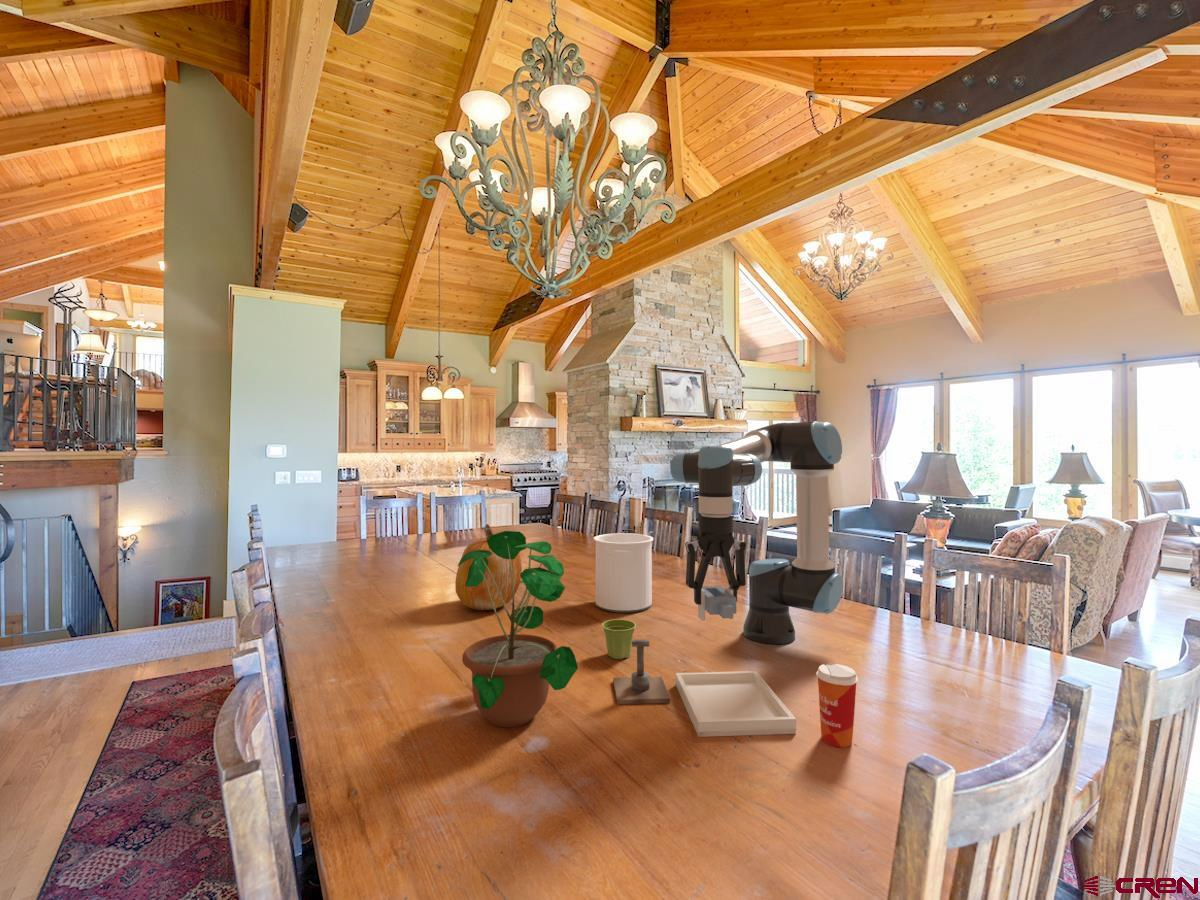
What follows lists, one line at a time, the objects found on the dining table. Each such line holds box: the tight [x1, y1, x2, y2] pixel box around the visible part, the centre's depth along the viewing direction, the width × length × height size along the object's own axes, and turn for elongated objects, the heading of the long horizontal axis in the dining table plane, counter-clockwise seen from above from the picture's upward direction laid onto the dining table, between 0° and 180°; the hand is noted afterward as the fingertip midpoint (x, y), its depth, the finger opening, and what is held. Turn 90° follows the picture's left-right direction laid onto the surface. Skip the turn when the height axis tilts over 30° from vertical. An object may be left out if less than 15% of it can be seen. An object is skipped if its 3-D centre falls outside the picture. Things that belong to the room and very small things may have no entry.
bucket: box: [593, 532, 654, 614], centre depth 205 cm, size 26×22×24 cm
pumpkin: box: [455, 524, 523, 611], centre depth 204 cm, size 26×23×30 cm
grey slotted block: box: [702, 585, 737, 619], centre depth 126 cm, size 13×6×3 cm, turn 8°
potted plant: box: [457, 530, 579, 728], centre depth 123 cm, size 31×29×40 cm
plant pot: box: [601, 618, 637, 660], centre depth 157 cm, size 9×9×9 cm
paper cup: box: [815, 663, 859, 749], centre depth 112 cm, size 8×8×14 cm
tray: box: [675, 670, 797, 738], centre depth 126 cm, size 20×24×3 cm
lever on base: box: [612, 638, 671, 705], centre depth 134 cm, size 12×12×12 cm
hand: (715, 617), depth 127 cm, fingers closed on grey slotted block, 6 cm apart
